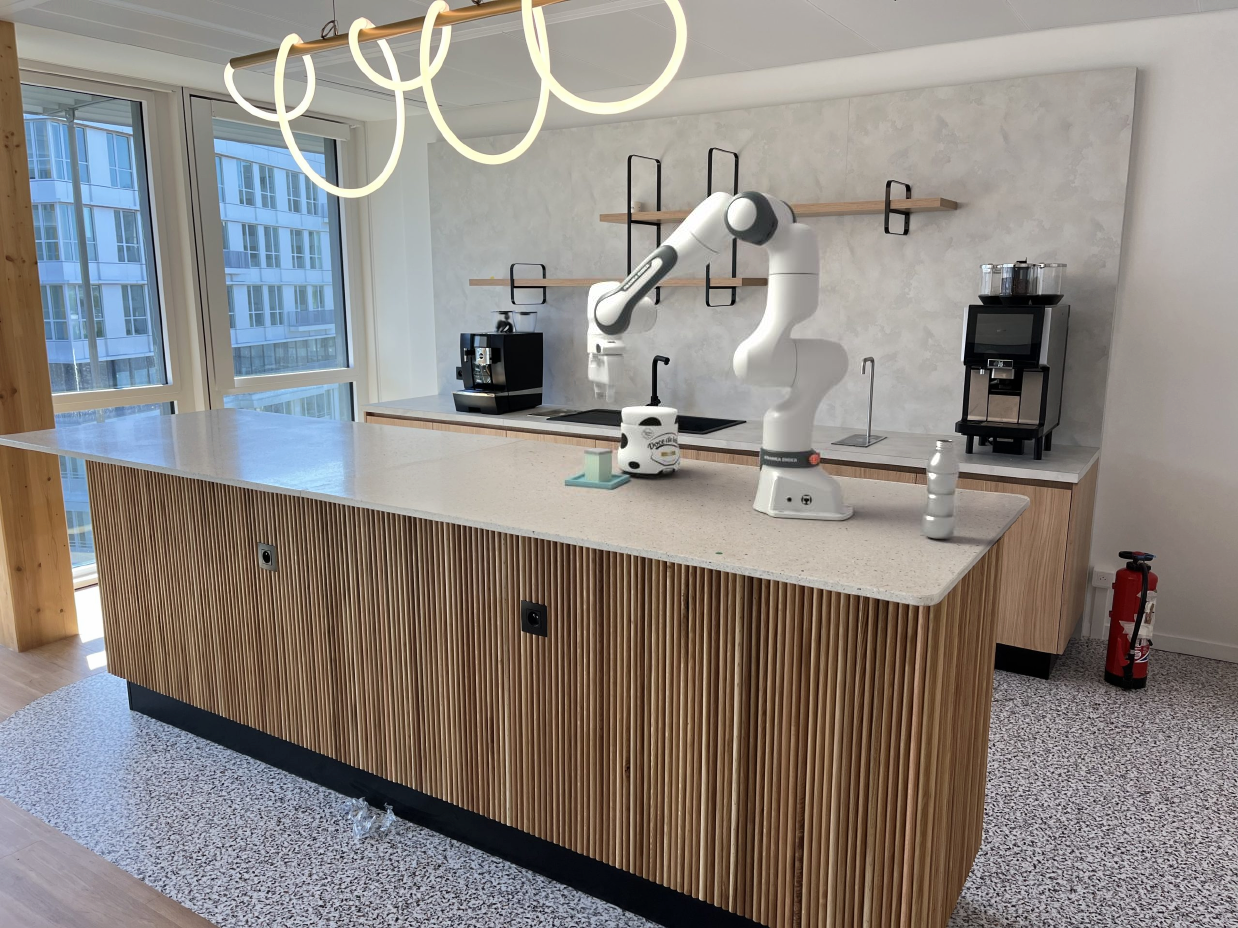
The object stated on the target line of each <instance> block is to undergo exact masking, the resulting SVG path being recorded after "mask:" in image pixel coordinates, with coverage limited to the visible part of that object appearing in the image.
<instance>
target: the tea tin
mask: <svg viewBox="0 0 1238 928" xmlns="http://www.w3.org/2000/svg"><path fill="white" fill-rule="evenodd" d="M583 451H584V452H583V453H584V472H585V481H592V482H607V481H611V480H612V474H613V472H612V470H613V469H612V468H613V467H612V466H613V452H614V451H613V449H609V448H604V447H603V448H601V447H594V448H589V449H588V448H587V449H584V450H583Z"/></svg>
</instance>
